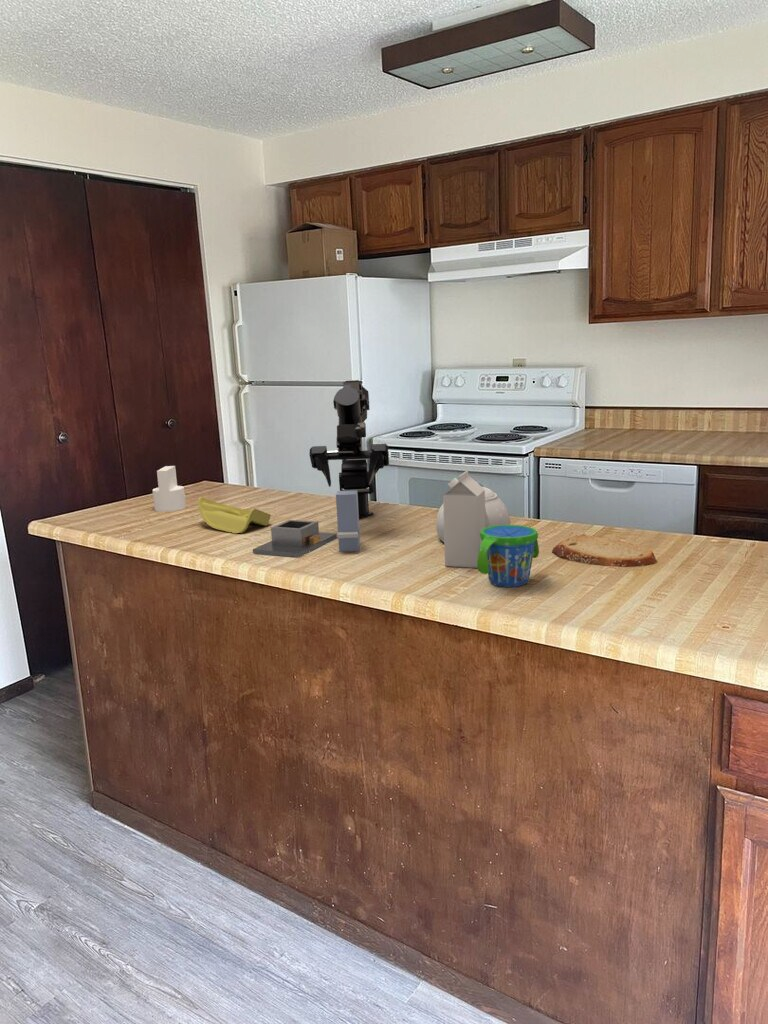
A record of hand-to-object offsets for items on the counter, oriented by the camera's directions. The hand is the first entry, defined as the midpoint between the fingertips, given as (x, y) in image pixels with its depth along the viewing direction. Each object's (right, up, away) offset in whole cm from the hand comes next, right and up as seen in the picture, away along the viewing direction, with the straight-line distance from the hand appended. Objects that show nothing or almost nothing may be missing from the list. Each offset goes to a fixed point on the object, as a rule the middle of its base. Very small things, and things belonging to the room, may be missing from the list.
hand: (349, 484), depth 182 cm
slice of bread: (+54, -16, -19) cm, 59 cm away
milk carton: (+25, -17, -20) cm, 37 cm away
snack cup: (+32, -20, -34) cm, 51 cm away
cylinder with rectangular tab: (-55, -5, +48) cm, 74 cm away
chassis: (-12, -14, 0) cm, 19 cm away
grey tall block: (0, -15, -5) cm, 16 cm away
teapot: (+29, -13, -1) cm, 32 cm away
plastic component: (-31, -10, +23) cm, 40 cm away
